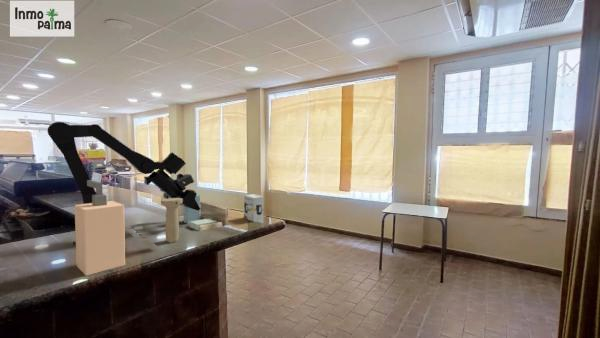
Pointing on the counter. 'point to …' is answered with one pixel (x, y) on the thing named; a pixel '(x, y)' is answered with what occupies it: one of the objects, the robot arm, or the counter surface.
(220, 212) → the rack
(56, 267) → the counter surface
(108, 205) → the soap dispenser
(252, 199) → the ink box
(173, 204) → the handle
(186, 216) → the light blue block
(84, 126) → the robot arm
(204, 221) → the pale green block
